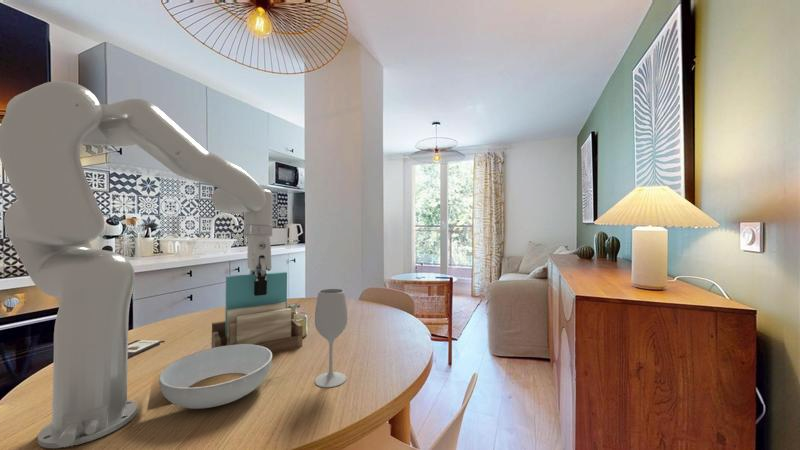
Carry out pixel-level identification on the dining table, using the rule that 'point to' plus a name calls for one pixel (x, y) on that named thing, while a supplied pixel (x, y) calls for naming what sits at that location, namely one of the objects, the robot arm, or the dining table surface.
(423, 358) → the dining table surface
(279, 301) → the teal board
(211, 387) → the serving bowl
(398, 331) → the dining table surface
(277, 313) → the plywood offcuts
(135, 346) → the chocolate bar
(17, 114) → the robot arm
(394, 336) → the dining table surface
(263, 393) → the dining table surface
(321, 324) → the wineglass
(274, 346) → the walnut rack
